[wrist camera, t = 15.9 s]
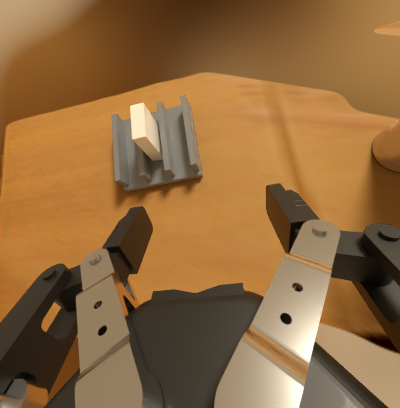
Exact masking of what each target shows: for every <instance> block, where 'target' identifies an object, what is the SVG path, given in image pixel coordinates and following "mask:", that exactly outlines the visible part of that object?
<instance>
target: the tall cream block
mask: <svg viewBox="0 0 400 408" xmlns="http://www.w3.org/2000/svg"><path fill="white" fill-rule="evenodd" d="M130 109H131V128H132V140H133V141H134V142H135V143H136V144H137V145H138V146H139V147H140V148H141V149H142V150H143V151H144V152H145V153H146V154H147V155H148V156H149V157H150V158H151V159H152V160H153V161H156V160H161V159H163V155H162V146H161V138H160V129H159V126H158V125H157V123H156V122H155V120H154V119H153V117H152V115H151V114H150V112H149V111H148V109H147V108H146V106H145V104H144V103H140V104H136V105H132V106H130Z"/></svg>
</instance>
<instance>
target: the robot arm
mask: <svg viewBox="0 0 400 408" xmlns="http://www.w3.org/2000/svg"><path fill="white" fill-rule="evenodd" d="M372 150H373V154H374V157H375V158H376V160H377V161H378V162H379V163H380V164H381V165H382V166H384V167H385V168H387V169H389V170H392V171H395V172H400V119H399V120H398V121H396V122H395V123H394V124H392V125H391V126H389V127H388V128H387V129H385V130H384V131H382V132H381V133H380V134H379V135H377V137H376V138H375V139H374V142H373V146H372ZM266 210H267V214H268V217H269V219H270V221H271V223H272V225H273V227H274V229H275V232H276V234H277V236H278V238H279V240H280V242H281V244H282V246H283V248H284V251H285V253H286V254H285V255H284V257H283V259H282V261H281V263H280V265H279V268H278V270H277V272H276V274H275V276H274V278H273V280H272V282H271V284H270V286H269V288H268V290H267V292H266V295H265V297H263V296H261V295H259V294H256V293H253V292H250V291H245V290H244V289H243V283H237V284H226V285H218V286H216V287H213V288H210V289H207V290H204V291H201V292H199V293H191V292H185V291H179V290H163V291H153V294H152V298H151V300H148V301H146V302H144V303H143V304H141V305H139V303H138V301H137V298H136V296H135V293H134V291H133V288H132V286H131V283H130V281H129V279H128V276H129V274H137V273H138V270H139V268H140V265H141V262H142V259H143V257H144V254H145V251H146V249H147V246H148V243H149V240H150V238H151V235H152V232H153V227H152V223H151V221H150V219H149V217H148V215H147V213H146V210H145V208H144V207H143V206H140V207H134V208H131V209H130V210H129V211H128V213H127V215H126V216H125V217H123V218H122V219H121V220H120V221H119V222H118V224H117V225H116V227H115V229H114V230H113V232H112V233H111V235H110V236H109V238H108V239H107V241H106V242H105V244H104V246H103V247H102V249H98V250H95V251H93V252H92V253H90V254H89V255H87V256H86V257H85V258H84V259H83V261H82V262H81V265H78V266H76V267H73V268H71V269H68V268H67V267H66V266H65V265H64V264H57V265H54V266H52V267H50V268H48V269H47V270H45V271H44V272H43V273H42V274H41V275H40V276H39V277H38V278H37V279H36V280H35V281H34V283H33V284H32V285H31V286H30V288H29V289H28V290H27V291H26V292H25V294H24V295H23V296H22V297H21V298H20V300H19V301H18V302H17V303H16V305H15V306H14V307H13V308H12V309H11V311H10V312H9V313H8V314H7V315H6V317H5V318H4V319H3V320H2V322H1V323H0V408H388V407H387V406H386V405H384V403H383V402H381V401H380V400H379V399H378V398H377V397H376V396H375V395H374V394H373V393H371V392H370V391H369V390H368V389H367V388H366V387H365V386H364V385H363V384H362V383H360V382H359V381H358V380H357V379H356V378H355V377H354V376H353V375H352V374H351V373H349V372H348V371H347V370H346V369H345V368H344V367H343V366H342V365H341V364H339V363H338V362H337V361H336V360H335V359H334V358H333V357H332V356H331V355H329V354H328V353H327V352H326V351H325V350H324V349H323V348H322V347H321V346H320V345H318V344H317V343H316V342H315V338H316V333H317V330H318V326H319V321H320V317H321V313H322V309H323V305H324V301H325V297H326V293H327V289H328V285H329V281H330V277H333V278H339V279H345V280H350V281H352V282H353V284H354V285H355V287H356V288H357V290H358V292H359V293H360V295H361V296H362V298H363V299H364V301H365V302H366V304H367V305H368V307H369V308H370V310H371V311H372V313H373V314H374V316H375V317H376V319H377V320H378V322H379V323H380V325H381V326H382V328H383V329H384V331H385V332H386V334H387V335H388V337H389V338H390V340H391V341H392V343H393V344H394V346H395V347H396V349H397V350H398V352H399V353H400V228H399V227H396V226H392V225H388V224H372V225H369V226H367V227H366V228H365V230H364V233H360V232H348V231H340V230H339V229H338V228H337V227H336V226H335V225H334V224H332V223H330V222H328V221H324V220H320V219H319V218H318V217H317V216H316V214H315V213H314V212H313V211H312V210H311V208H310V207H309V206H308V205H306V203H305V201H304V200H302V198H301V197H300V195H299V194H298V193H296V192H294V191H292V190H285V189H284V188H283V186H282V185H281V184H280V183H278V184H272V185H267V186H266ZM54 302H55V303H57V304H58V305H59V306H60V307H61V309H60V311H59V312H58V314H57V315H56V317H55V319H54V320H53V322H52V324H51V325H50V327H49V329H48V330H47V332H44V331H43V330H42V328H41V324H42V320H43V318H44V317H45V315H46V314H47V312H48V311H49V309H50V308H51V306H52V305H53V303H54ZM77 334H78V342H79V357H80V368H79V370H78V371H77V372H76V373H75V374H74V375H73V376H72V377H71V378H70V379H69V380H68V381H67V383H66V384H65V385H64V386H63V387H62V388H61V389H60V390H59V391H58V393H56V395H55V396H54V397H53V398H52V399H51V400H50V401H49V402H48V403H47V399H48V395H49V393H50V391H51V388H52V387H53V384H54V382H55V380H56V378H57V376H58V374H59V372H60V370H61V368H62V365H63V363H64V361H65V359H66V356H67V355H68V353H69V350H70V349H71V346H72V344H73V342H74V340H75V338H76V336H77Z"/></svg>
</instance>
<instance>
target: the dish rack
mask: <svg viewBox="0 0 400 408" xmlns="http://www.w3.org/2000/svg"><path fill="white" fill-rule="evenodd" d="M180 99H181V105H180V106H176V107H173V108H169V109H165V107H164V105H163V103H162V102H158V103H157V112H154V113H150V114H151V115H152V117H153V119H154V120H155V122H156V123H157V125H158V126H159V129H160V138H161V146H162V155H163V159H161V160H156V161H153V160H152V159H151V158H150V157H149V156H148V155H147V154H146V153H145V152H144V151H143V150H142V149H141V148H140V147H139V146H138V145H137V144H136V143H135V142H134V141H133V140H132V128H131V119H127V120H122V119H121V118H120V117H119V116H118V115H117V114H113V115H112V135H113V155H114V176H115V181H116V182H117V183H119V184H121V185H123V190H124V191H126V192H131V191H135V190H140V189H145V188H150V187H155V186H160V185H165V184H170V183H174V182H179V181H184V180H189V179H194V178H199V177H203V176H202V170H201V164H200V158H199V152H198V146H197V140H196V134H195V128H194V122H193V115H192V109H191V105H190V103H188V101H187V98H186V95H184V96H180Z"/></svg>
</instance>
